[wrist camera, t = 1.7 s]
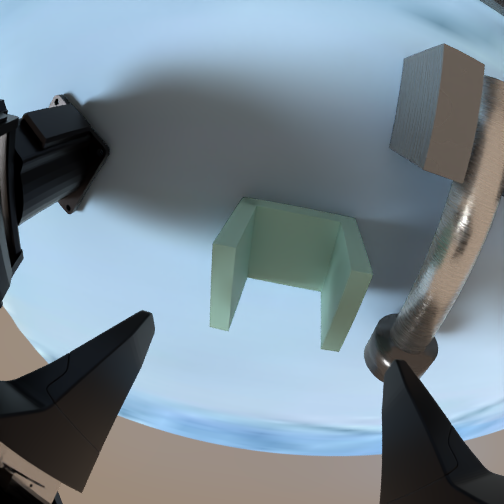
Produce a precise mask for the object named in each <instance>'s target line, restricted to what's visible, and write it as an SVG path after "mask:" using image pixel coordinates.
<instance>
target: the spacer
mask: <svg viewBox="0 0 504 504" xmlns="http://www.w3.org/2000/svg"><path fill="white" fill-rule="evenodd" d="M372 276H373V272H372V269H371V266H370V262H369V259H368V256H367V253H366V250H365V247H364V244H363V241H362V238H361V235H360V232H359V229H358V226H357V223H356V220H355V218H351V217H347V216H342V215H337V214H333V213H328V212H323V211H318V210H313V209H308V208H303V207H298V206H292V205H287V204H282V203H276V202H271V201H265V200H259V199H254V198H248V197H243V198H242V199H241V201H240V202H239V204H238V205H237V207H236V208H235V210H234V211H233V213H232V215H231V216H230V218H229V219H228V221H227V222H226V224H225V225H224V227H223V228H222V230H221V231H220V233H219V234H218V236H217V238H216V239H215V241H214V242H213V249H212V271H211V299H210V327H212V328H217V329H221V330H225V331H229V328H230V325H231V322H232V319H233V317H234V314H235V311H236V308H237V305H238V302H239V299H240V297H241V294H242V291H243V288H244V285H245V282H246V280H247V277H248V278H253V279H258V280H263V281H268V282H273V283H278V284H283V285H288V286H293V287H299V288H304V289H309V290H315V291H320V292H321V349H324V350H330V351H337V352H339V351H340V348H341V346H342V344H343V342H344V340H345V338H346V336H347V334H348V332H349V330H350V328H351V325H352V323H353V321H354V319H355V317H356V314H357V312H358V310H359V307H360V305H361V303H362V300H363V298H364V296H365V293H366V291H367V288H368V286H369V284H370V281H371V279H372Z"/></svg>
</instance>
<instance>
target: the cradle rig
mask: <svg viewBox="0 0 504 504" xmlns="http://www.w3.org/2000/svg"><path fill="white" fill-rule="evenodd" d="M480 1H482V2H484V3H485V4H487V5H488V6H490V7H491V8H493V9H494V10H496V11H498V12H499V13H500V14H502V15H503V16H504V0H480ZM484 66H485V65H484V64H482V63H481V62H479V61H477V60H475V59H474V58H472V57H470V56H468V55H466V54H464V53H462V52H461V51H459V50H457V49H455V48H453V47H450V46H448V45H446V44H441V45H438V46H435V47H433V48H430V49H427V50H425V51H422V52H419V53H417V54H414V55H412V56H409V57H407V58H404V63H403V72H402V79H401V86H400V93H399V99H398V105H397V111H396V116H395V122H394V127H393V132H392V137H391V142H390V146H389V148H390V149H391V150H393V151H395V152H396V153H398V154H400V155H401V156H403V157H404V158H406V159H408V160H409V161H411V162H412V163H414V164H415V165H417V166H418V167H420V168H421V169H423V170H425V171H428V172H431V173H434V174H437V175H440V176H443V177H445V178H448V179H451V180H453V181H456V182H459V183H461V184H463V182H464V179H465V175H466V171H467V168H468V164H469V160H470V156H471V152H472V147H473V143H474V138H475V133H476V128H477V123H478V117H479V111H480V104H481V97H482V89H483V79H484ZM502 196H503V197H504V189H503V192H502Z"/></svg>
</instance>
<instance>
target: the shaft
mask: <svg viewBox="0 0 504 504" xmlns="http://www.w3.org/2000/svg"><path fill="white" fill-rule="evenodd" d="M503 189H504V82H503V81H501V80H498V79H496V78H493V77H489V76H485V75H484V79H483V89H482V97H481V104H480V111H479V117H478V123H477V128H476V133H475V138H474V143H473V147H472V152H471V156H470V160H469V164H468V168H467V171H466V175H465V179H464V182H463V184H461V183H459V182H456V181H453V182H452V186H451V189H450V192H449V196H448V199H447V202H446V205H445V208H444V211H443V214H442V217H441V219H440V222H439V225H438V228H437V230H436V233H435V236H434V238H433V241H432V243H431V246H430V248H429V251H428V253H427V256H426V258H425V260H424V263H423V265H422V267H421V270H420V272H419V274H418V276H417V278H416V281H415V283H414V285H413V287H412V289H411V291H410V293H409V295H408V297H407V299H406V301H405V303H404V305H403V307H402V309H401V311H400V313H399V314H390V315H387V316H385V317H383V318H382V319H381V320H380V321H379V322H378V324H377V326H376V328H375V330H374V332H373V334H372V335H371V337H370V339H369V341H368V343H367V345H366V347H365V350H364V358H365V362H366V365H367V367H368V368H369V370H370V371H371V372H372V374H373V375H374V376H375V377H376V378H378V379H379V380H380V381H382V382H384V375H385V372H386V371H387V369H388V368H389V366H390V365H391V364H392V362H393V361H394V360H395V359H400V360H405V361H406V362H407V364H408V365H409V366H410V367H411V369H412V370H413V371H414V373H415V374H416V375H417V377H418V378H419V379H420V378H421V377H422V375H423V374H424V373H425V372H426V370H427V369H428V368H429V366H430V365H431V364H432V363H433V361H434V360H435V358H436V357H437V354H438V344H437V341H436V339H435V337H434V336H435V334H436V332H437V331H438V329H439V328H440V326H441V325H442V323H443V321H444V320H445V318H446V316H447V315H448V313H449V311H450V310H451V308H452V306H453V304H454V303H455V301H456V299H457V297H458V295H459V294H460V292H461V290H462V288H463V286H464V284H465V282H466V280H467V278H468V276H469V274H470V272H471V270H472V268H473V266H474V264H475V262H476V260H477V258H478V255H479V253H480V251H481V249H482V246H483V244H484V242H485V239H486V237H487V234H488V232H489V229H490V227H491V224H492V221H493V219H494V216H495V213H496V210H497V207H498V204H499V201H500V198H501V195H502V192H503Z"/></svg>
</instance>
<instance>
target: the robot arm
mask: <svg viewBox="0 0 504 504" xmlns="http://www.w3.org/2000/svg"><path fill="white" fill-rule="evenodd" d="M58 101H59V103H58ZM7 113H8V110H7V109H6V106H5V103H4V100H2V99H0V308H1V307H2V305H3V302H2V300H3V298H4V296H5V294H6V292H7V290H8V289H9V287H10V283H11V278H12V276H13V275H14V273H15V271H16V270H17V268H18V266H19V265H20V263H21V262H22V260H23V258H24V257H23V251H22V249H21V246H20V239H19V231H18V226H19V225H20V224H22V223H23V222H25V221H26V220H28V219H30V218H31V217H33V216H34V215H36V214H37V213H39V212H41V211H42V210H44V209H46V208H47V207H49V206H51V205H52V204H54V203H56V202H58V203H59V204H60V205H61V206H62V208H63V209H64V210H65V211H66V212H67V213H68V214H72V213H73V212H75V211H76V209H77V207H78V205H79V203H80V202H81V200H82V198H83V196H84V195H85V193H86V191H87V189H88V188H89V186H90V184H91V183H92V181H93V179H94V178H95V176H96V175H97V173H98V171H99V170H100V168H101V167H102V165H103V164H104V162H105V161H106V159H107V158H108V156H109V152H110V151H109V147H108V146H107V145H106V143H105V142H104V141H103V140H102V139H101V138H100V137H99V136H98V134H97V133H96V132H95V131H94V130H93V129H92V128H91V126H90V124H89V123H88V122H87V121H86V120H85V118H84V117H83V116H82V115H81V114H80V113H79V112H78V110H77V109H76V108H75V107H74V106H73V105H72V104H70V102H69V101H68V100H67V99H66V98H65V97H64V96H63V95H56V96H55V97H54V98H53V100H52V102H51V104H50V106H49V108H45V109H41V110H36V111H32V112H28V113H25V114H24V115H23V117H22V118H20V119H19V117H18V116H14V115H9V114H7ZM101 150H102V151H103V154H101ZM154 332H155V326H154V319H153V315H152V313H150V312H147V311H144V310H142V311H139V312H138V313H136V314H134V315H132V316H131V317H129V318H127V319H126V320H124V321H122V322H121V323H119V324H117V325H115V326H114V327H112V328H110V329H109V330H107V331H105V332H103V333H102V334H100V335H98V336H97V337H95V338H93V339H92V340H90V341H88V342H86V343H85V344H83V345H81V346H80V347H78V348H76V349H75V350H73V351H71V352H70V354H69V353H68V354H66V355H64V356H63V357H61V358H59V359H57V360H55V361H54V362H52V363H50V364H48V365H46V366H44V367H42V368H40V369H38V370H35V371H33V372H31V373H29V374H26V375H24V376H22V377H20V378H17V379H15V380H10V381H0V504H63V503H62V501H61V498H60V496H59V493H58V489H59V487H60V484H61V483H63V484H65V485H67V486H69V487H71V488H73V489H75V490H77V491H79V492H81V493H82V491H83V489H84V487H85V485H86V482H87V480H88V478H89V476H90V473H91V471H92V469H93V466H94V464H95V462H96V460H97V458H98V455H99V452H100V451H101V449H102V446H103V444H104V442H105V440H106V438H107V436H108V434H109V431H110V429H111V427H112V425H113V423H114V421H115V419H116V417H117V415H118V413H119V411H120V409H121V407H122V405H123V403H124V401H125V399H126V397H127V395H128V393H129V391H130V389H131V387H132V385H133V383H134V381H135V379H136V377H137V375H138V373H139V371H140V369H141V367H142V364H143V362H144V359H145V356H146V354H147V351H148V348H149V346H150V343H151V341H152V338H153V335H154ZM380 504H504V476H502V475H498V474H495V473H492V472H490V471H489V470H487V469H486V468H485V467H484V466H483V465H482V463H481V462H480V461H479V460H478V458H477V457H476V456H475V455H474V454H473V453H472V451H471V450H470V449H469V447H468V446H467V445H466V444H465V442H464V441H463V440H462V438H461V437H460V435H459V434H458V433H457V431H456V430H455V428H454V427H453V426H452V425H451V423H450V421H449V420H448V418H447V417H446V415H445V414H444V413H443V411H442V410H441V408H440V407H439V406H438V404H437V403H436V401H435V400H434V399H433V397H432V396H431V394H430V393H429V392H428V390H427V389H426V388H425V386H424V385H423V383H422V382H421V381H420V379H419V378H418V377H417V375H416V374H415V373H414V371H413V370H412V369H411V367H410V366H409V365H408V364H407V362H406V361H405V360H400V359H395V360H394V361H393V362H392V364H391V365H390V366H389V368H388V369H387V371H386V372H385V375H384V386H383V403H382V477H381V493H380Z"/></svg>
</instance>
